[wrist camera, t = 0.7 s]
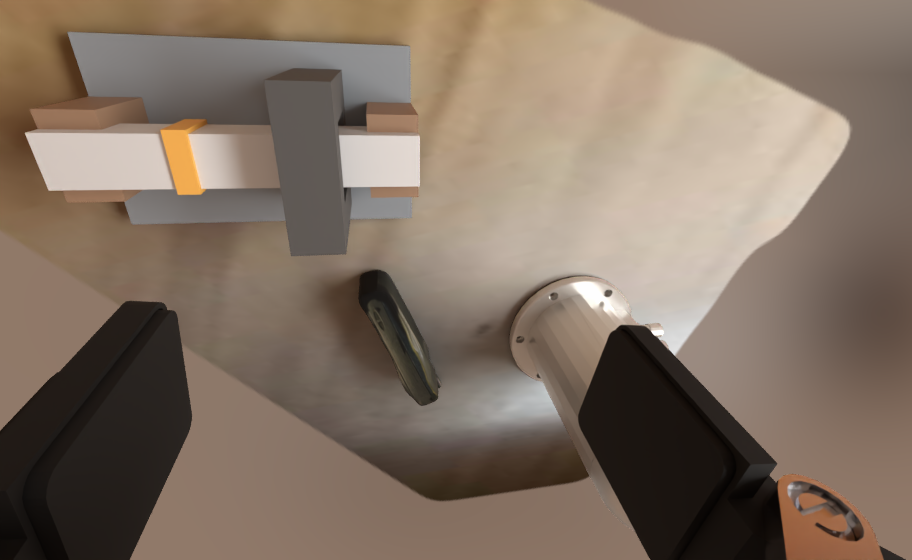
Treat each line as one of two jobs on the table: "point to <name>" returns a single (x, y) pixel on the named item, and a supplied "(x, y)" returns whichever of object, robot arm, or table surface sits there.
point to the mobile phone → (399, 335)
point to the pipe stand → (219, 127)
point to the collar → (310, 158)
